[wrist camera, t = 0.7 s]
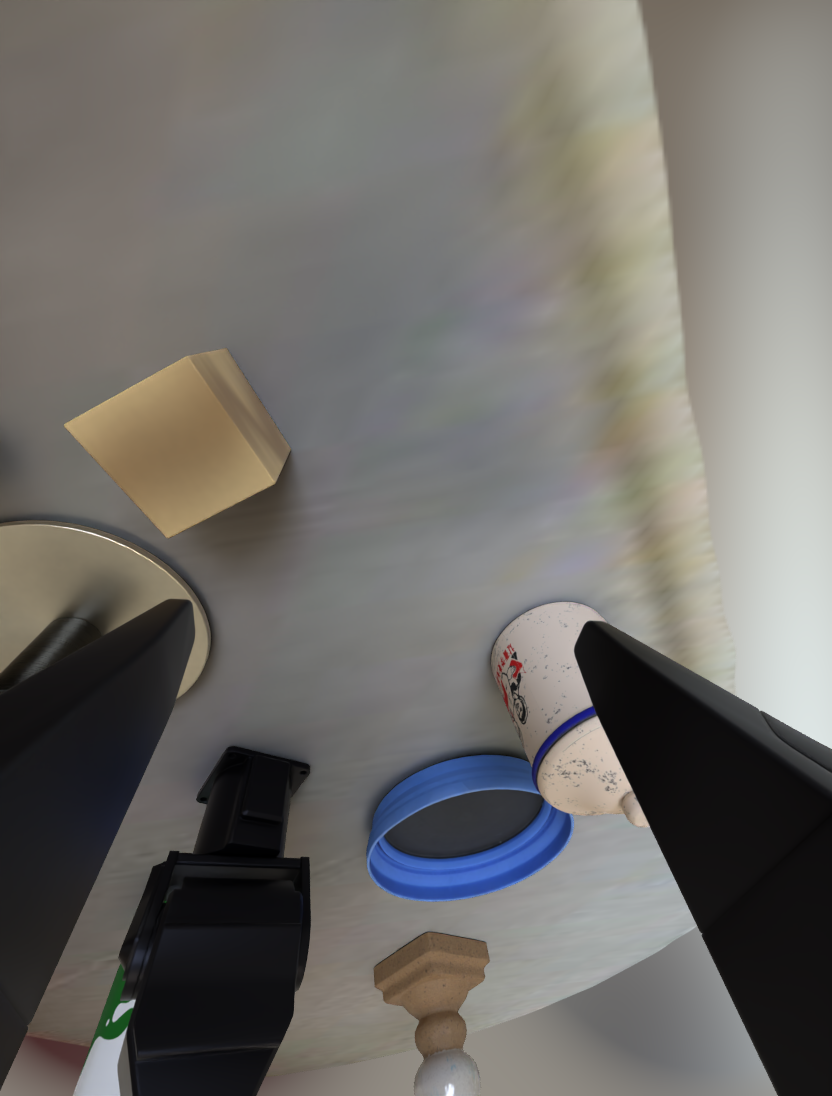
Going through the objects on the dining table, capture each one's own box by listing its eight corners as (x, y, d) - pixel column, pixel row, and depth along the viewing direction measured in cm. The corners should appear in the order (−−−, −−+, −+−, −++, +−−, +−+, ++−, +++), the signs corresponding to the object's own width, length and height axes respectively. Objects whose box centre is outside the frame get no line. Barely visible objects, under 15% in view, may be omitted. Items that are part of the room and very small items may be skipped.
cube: (291, 449, 20) (276, 484, 16) (205, 494, 21) (167, 539, 16) (226, 347, 18) (186, 355, 13) (130, 401, 18) (61, 425, 14)
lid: (170, 727, 28) (128, 822, 23) (-81, 665, 23) (-209, 768, 18) (250, 581, 23) (221, 656, 18) (-41, 465, 18) (-198, 522, 13)
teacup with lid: (470, 626, 27) (541, 804, 17) (599, 576, 27) (750, 729, 17) (511, 729, 33) (582, 906, 23) (618, 689, 33) (737, 853, 23)
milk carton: (166, 857, 35) (-13, 1384, 18) (267, 871, 38) (201, 1325, 21) (133, 906, 38) (-47, 1399, 21) (231, 915, 41) (146, 1345, 24)
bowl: (431, 725, 32) (440, 768, 29) (594, 770, 38) (615, 809, 35) (331, 848, 38) (329, 894, 35) (484, 869, 44) (495, 910, 41)
